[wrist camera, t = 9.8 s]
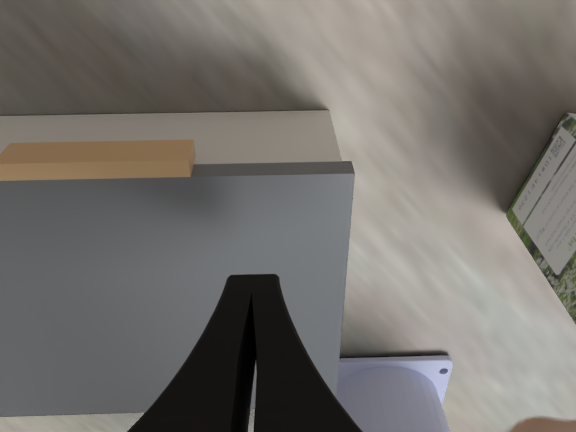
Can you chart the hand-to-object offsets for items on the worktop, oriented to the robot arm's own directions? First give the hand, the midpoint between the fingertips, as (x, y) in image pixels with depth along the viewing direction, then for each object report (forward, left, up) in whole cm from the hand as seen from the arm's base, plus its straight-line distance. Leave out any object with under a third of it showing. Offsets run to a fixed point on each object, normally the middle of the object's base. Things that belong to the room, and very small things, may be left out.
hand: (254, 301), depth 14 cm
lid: (-4, +5, -5) cm, 8 cm away
